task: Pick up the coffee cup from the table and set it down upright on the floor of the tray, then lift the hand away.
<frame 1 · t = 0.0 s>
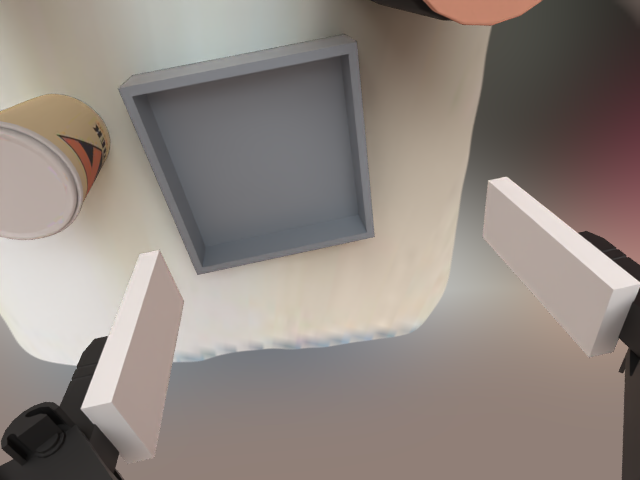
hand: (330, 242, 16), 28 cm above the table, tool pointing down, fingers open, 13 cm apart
tray: (264, 154, 43), on the table
coffee cup: (68, 133, 39), on the table
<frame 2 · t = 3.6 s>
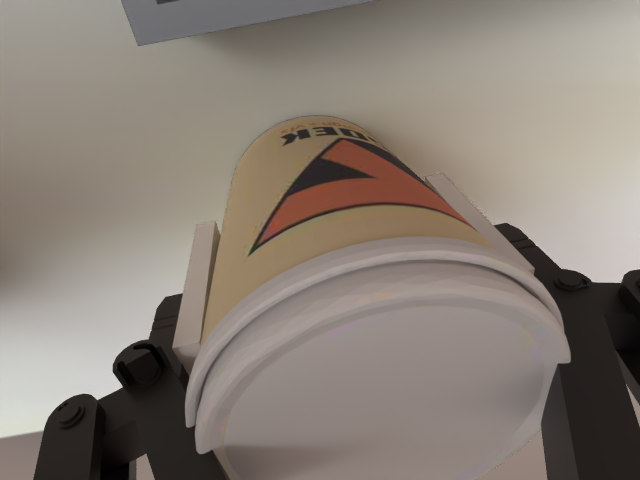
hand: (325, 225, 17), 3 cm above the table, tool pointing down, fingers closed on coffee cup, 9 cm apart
coffee cup: (312, 193, 19), on the table, touching gripper
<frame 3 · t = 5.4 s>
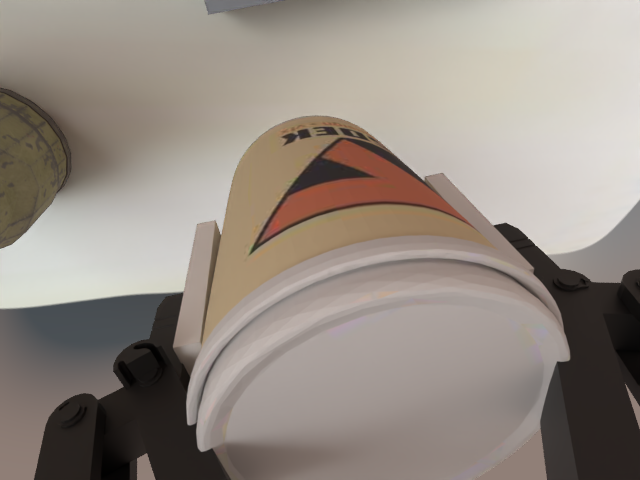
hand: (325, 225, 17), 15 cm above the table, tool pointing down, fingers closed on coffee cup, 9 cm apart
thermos: (5, 148, 29), on the table
coffee cup: (312, 192, 19), point 13 cm above the table, touching gripper
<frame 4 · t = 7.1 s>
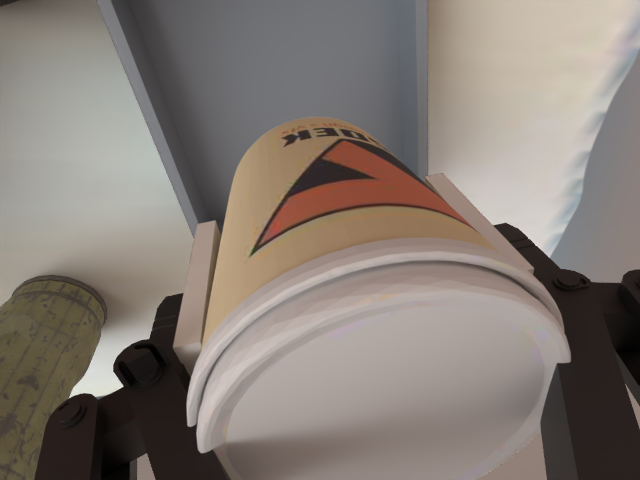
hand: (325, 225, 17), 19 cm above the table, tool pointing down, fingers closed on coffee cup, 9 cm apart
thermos: (62, 307, 41), on the table
tray: (287, 99, 33), on the table
coffee cup: (312, 193, 19), point 17 cm above the table, touching gripper
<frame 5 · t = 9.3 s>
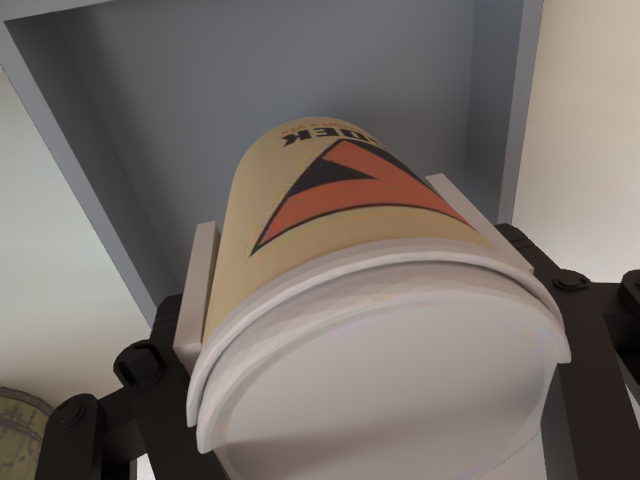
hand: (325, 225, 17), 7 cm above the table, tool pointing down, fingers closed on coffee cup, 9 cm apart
tray: (304, 161, 23), on the table
coffee cup: (313, 193, 19), point 4 cm above the table, touching gripper
when the fingers open (4 cm above the table, at t = 10.8 s): coffee cup stays where it is, resting on tray.
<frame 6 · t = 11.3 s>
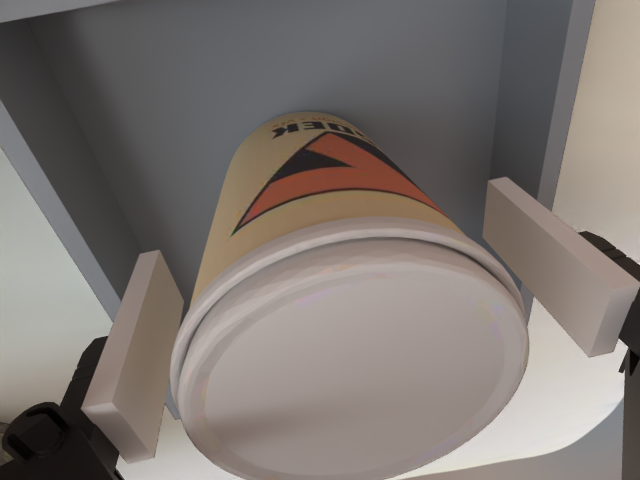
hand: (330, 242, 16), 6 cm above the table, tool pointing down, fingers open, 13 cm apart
tray: (312, 181, 21), on the table
coffee cup: (305, 186, 20), point 1 cm above the table, touching tray
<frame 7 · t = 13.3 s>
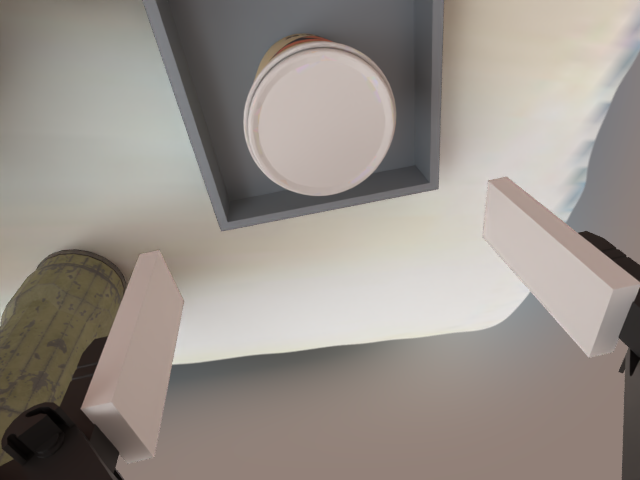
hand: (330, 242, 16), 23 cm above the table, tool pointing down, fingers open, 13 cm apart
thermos: (83, 282, 43), on the table
tray: (307, 82, 35), on the table
coffee cup: (302, 83, 34), point 1 cm above the table, touching tray
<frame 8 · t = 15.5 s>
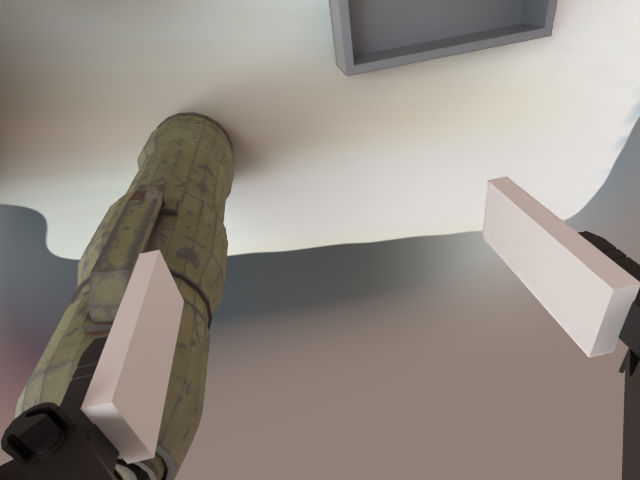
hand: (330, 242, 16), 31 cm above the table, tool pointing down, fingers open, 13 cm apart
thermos: (193, 151, 45), on the table
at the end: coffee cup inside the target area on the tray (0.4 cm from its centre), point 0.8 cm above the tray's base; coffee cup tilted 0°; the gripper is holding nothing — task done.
